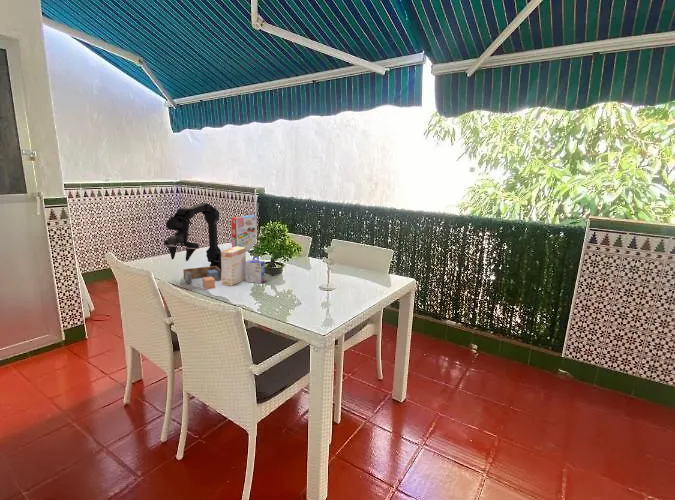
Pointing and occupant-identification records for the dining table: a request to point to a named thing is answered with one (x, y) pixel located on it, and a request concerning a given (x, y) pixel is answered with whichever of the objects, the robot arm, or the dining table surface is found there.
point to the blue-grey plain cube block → (213, 274)
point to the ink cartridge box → (255, 271)
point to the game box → (244, 231)
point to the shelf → (201, 271)
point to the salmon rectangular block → (208, 282)
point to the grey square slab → (188, 277)
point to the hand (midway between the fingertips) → (179, 260)
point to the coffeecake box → (233, 265)
